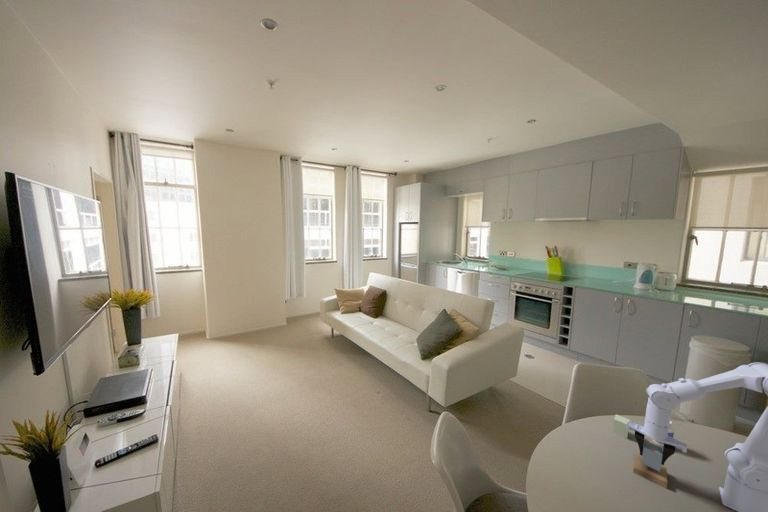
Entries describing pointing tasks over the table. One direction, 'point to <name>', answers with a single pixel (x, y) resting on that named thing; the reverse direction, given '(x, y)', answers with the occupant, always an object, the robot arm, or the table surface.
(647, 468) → the walnut block
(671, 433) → the pill bottle
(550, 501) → the table surface
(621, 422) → the sage block
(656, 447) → the slate block
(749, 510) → the robot arm
